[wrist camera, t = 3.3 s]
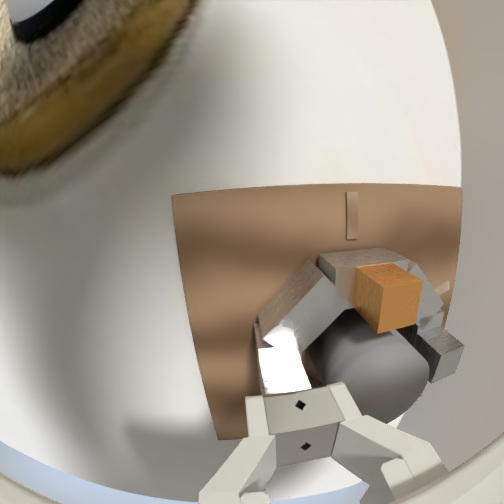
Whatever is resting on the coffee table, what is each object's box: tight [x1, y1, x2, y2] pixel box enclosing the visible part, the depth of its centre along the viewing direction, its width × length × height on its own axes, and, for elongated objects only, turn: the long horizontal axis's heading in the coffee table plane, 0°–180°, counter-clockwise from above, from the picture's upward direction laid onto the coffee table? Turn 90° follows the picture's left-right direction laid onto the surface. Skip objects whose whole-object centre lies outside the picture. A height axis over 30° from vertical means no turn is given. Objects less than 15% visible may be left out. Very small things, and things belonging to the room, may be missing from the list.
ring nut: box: [254, 247, 464, 396], centre depth 16 cm, size 14×14×6 cm
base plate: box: [171, 183, 462, 440], centre depth 16 cm, size 22×22×8 cm
